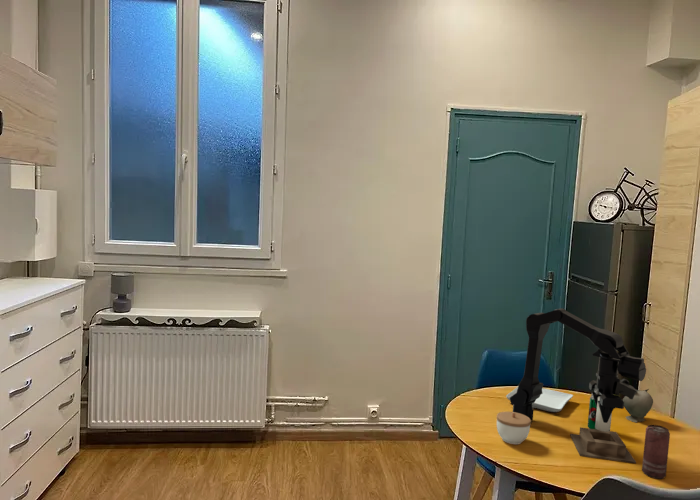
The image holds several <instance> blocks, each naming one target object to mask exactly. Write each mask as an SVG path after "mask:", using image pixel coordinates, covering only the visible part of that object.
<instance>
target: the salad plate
mask: <svg viewBox="0 0 700 500" xmlns="http://www.w3.org/2000/svg"><path fill="white" fill-rule="evenodd" d="M517 389H518V386H517V387H515V388H514V389H513V390H512V391H510V392H508V393H507V394H506V396H505V397H506V399H507V400H509V401H510V397H511V396H513V395H514V394H516V393H517ZM542 393H543V394H541V395H540V397H539V398H538V399H536V401H535V402H534V403H532V407H533V409H536V408H537V410H541V411H546V412H551V413H559V412H561V411H562V410H563V408H564V407H565V405H566V404H567V403H568V402H569V401H571V399H572V398H573V397H574V394H571V393H567V392H562V391H557V390H554V389H549V388H544V387H542Z"/></svg>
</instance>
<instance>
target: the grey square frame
mask: <svg viewBox="0 0 700 500" xmlns="http://www.w3.org/2000/svg"><path fill="white" fill-rule="evenodd" d="M569 436H570V439H571V441H572V443H573V444H574V446H575V449H576V451H577V453H578V454H579V456H580V457H585V458H592V459H598V460H599V459H600V460H607V461H608V460H609V461H614V462H622V463H629V464H636V463H637V461H636V460H635V458H634V457H633V455H632V454H631V452H630V451H629V449H628V448H627V445H626V443H624V441H623V440H622V438H621V437H620V435H619V434H618V433H617V431H612V430H610V431H609V432H604V431H600V430H597V429H589V428H588V427H587V428H586V427H581V426H580V427H579V434H574V433H570V434H569Z"/></svg>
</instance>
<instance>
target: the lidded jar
mask: <svg viewBox="0 0 700 500" xmlns="http://www.w3.org/2000/svg"><path fill="white" fill-rule="evenodd" d="M531 421H532V420H530V418H529V417H527V416H525V415H523V414H520V413H516V412H513V411H500V412H498V413H497V414H496V430H497V432H498V433H497V434H498V435H499V437H500V438H501V439H502V441H503V442H504V443H507V444H510V445H520V444H522V443H523V442H524V441H525V440H526V439H527V438H528V436H529V434H530V428H531Z"/></svg>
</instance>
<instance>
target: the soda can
mask: <svg viewBox="0 0 700 500" xmlns="http://www.w3.org/2000/svg"><path fill="white" fill-rule="evenodd" d="M596 412H597V407H596V404H595V401H594V398H593V395H592V394H591V395H590V397H589V407H588V416H587V417H588V418H587V428H589V429H596V428H595V423H596Z"/></svg>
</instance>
